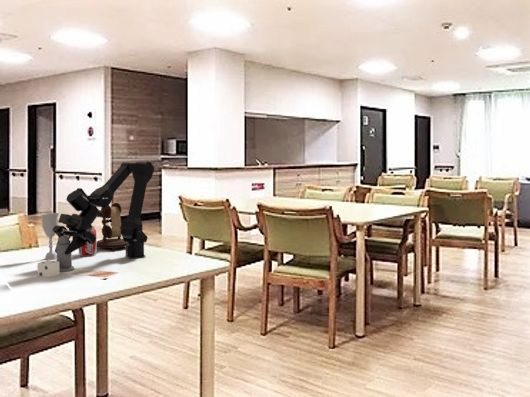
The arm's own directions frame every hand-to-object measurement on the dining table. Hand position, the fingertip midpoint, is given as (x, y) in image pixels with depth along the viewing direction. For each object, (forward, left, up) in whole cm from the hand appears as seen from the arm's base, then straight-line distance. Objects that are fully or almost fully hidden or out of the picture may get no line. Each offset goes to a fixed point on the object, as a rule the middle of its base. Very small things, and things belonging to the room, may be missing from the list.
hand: (60, 253), depth 200 cm
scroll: (-31, -38, -7) cm, 49 cm away
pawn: (-1, -1, -6) cm, 7 cm away
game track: (-6, +6, -7) cm, 11 cm away
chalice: (-3, -28, -7) cm, 29 cm away
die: (+5, +4, -7) cm, 10 cm away
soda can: (-17, -26, -7) cm, 31 cm away
